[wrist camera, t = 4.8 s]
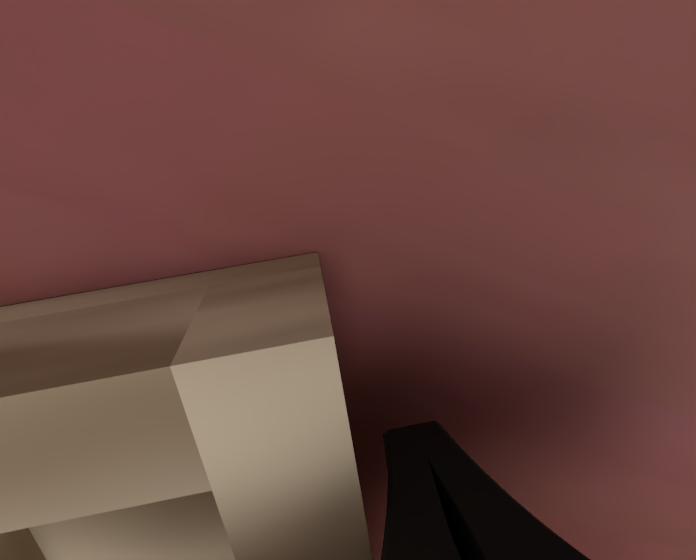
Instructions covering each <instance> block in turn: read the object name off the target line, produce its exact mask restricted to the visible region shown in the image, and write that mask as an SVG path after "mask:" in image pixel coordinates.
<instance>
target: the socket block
mask: <svg viewBox="0 0 696 560" xmlns="http://www.w3.org/2000/svg"><path fill="white" fill-rule="evenodd" d="M0 560H373V558H372V552H371V546H370V541H369V535H368V529H367V524H366V518H365V512H364V506H363V501H362V495H361V489H360V484H359V478H358V472H357V466H356V461H355V455H354V449H353V443H352V438H351V432H350V426H349V421H348V415H347V409H346V403H345V398H344V392H343V386H342V381H341V375H340V369H339V363H338V358H337V352H336V346H335V341H334V335H333V330H332V324H331V319H330V314H329V309H328V303H327V298H326V293H325V288H324V282H323V277H322V272H321V267H320V261H319V256H318V252H316V253H310V254H304V255H298V256H292V257H287V258H281V259H275V260H269V261H264V262H258V263H252V264H246V265H240V266H235V267H229V268H223V269H217V270H211V271H206V272H200V273H194V274H188V275H183V276H177V277H171V278H165V279H159V280H154V281H148V282H142V283H136V284H131V285H125V286H119V287H113V288H107V289H102V290H96V291H90V292H84V293H78V294H73V295H67V296H61V297H55V298H50V299H44V300H38V301H32V302H26V303H21V304H15V305H9V306H3V307H0Z"/></svg>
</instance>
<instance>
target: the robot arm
mask: <svg viewBox="0 0 696 560" xmlns="http://www.w3.org/2000/svg"><path fill="white" fill-rule="evenodd" d="M383 439H384V446H385V453H386V460H387V468H388V495H387V513H386V522H385V531H384V540H383V549H382V555H381V560H590V559H589V558H587V557H586V556H585V555H583V554H582V553H580V552H579V551H578V550H576V549H575V548H574V547H572V546H571V545H570V544H568V543H567V542H566V541H564V540H563V539H562V538H560V537H559V536H558V535H557V534H555V533H554V532H553V531H552V530H550V529H549V528H548V527H547V526H545V525H544V524H543V523H542V522H540V521H539V520H538V519H537V518H535V517H534V516H533V515H532V514H531V513H530V512H528V511H527V510H526V509H525V508H524V507H523V506H521V505H520V504H519V503H518V502H517V501H516V500H514V499H513V498H512V497H511V496H510V495H509V494H508V493H507V492H506V491H504V490H503V489H502V488H501V487H500V486H499V485H498V484H497V483H496V482H495V481H494V480H493V479H492V478H491V477H490V476H489V475H487V474H486V473H485V472H484V471H483V470H482V469H481V468H480V467H479V466H478V465H477V464H476V463H475V462H474V461H473V460H472V459H471V458H470V457H469V456H468V455H467V454H466V453H465V452H464V451H463V450H462V448H461V447H460V446H459V445H458V444H457V443H456V442H455V441H454V440H453V439H452V438H451V437H450V435H449V434H448V433H447V432H446V431H445V430H444V429H443V427H442V426H441V425H440V424H439V423H437V422H436V421H432V422H426V423H421V424H416V425H411V426H406V427H401V428H396V429H391V430H387V431H386V432H385V433H384V435H383Z"/></svg>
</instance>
